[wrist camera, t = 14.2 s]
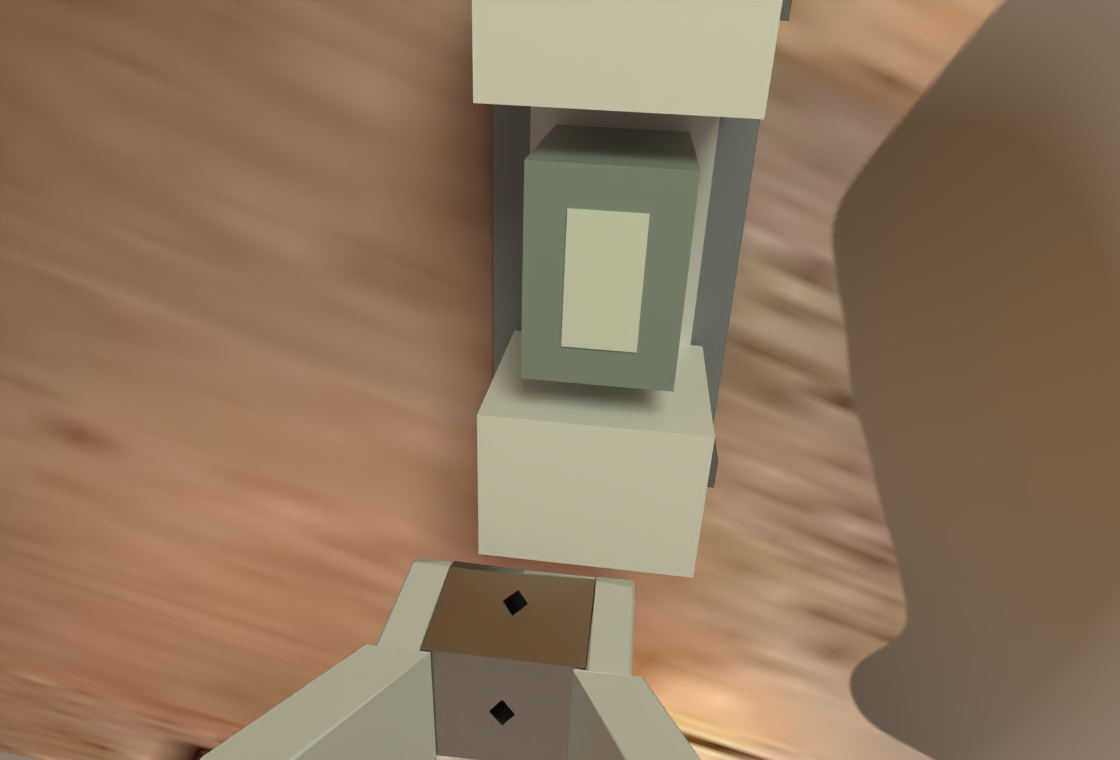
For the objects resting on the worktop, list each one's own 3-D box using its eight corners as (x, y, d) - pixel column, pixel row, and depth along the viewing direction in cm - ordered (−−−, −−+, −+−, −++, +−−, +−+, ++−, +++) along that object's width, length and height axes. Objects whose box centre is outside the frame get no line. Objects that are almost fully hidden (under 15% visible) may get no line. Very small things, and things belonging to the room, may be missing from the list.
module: (556, 124, 28) (523, 160, 21) (689, 132, 27) (700, 171, 21) (549, 299, 31) (520, 379, 24) (669, 308, 31) (673, 392, 24)
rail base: (498, -143, 26) (428, -212, 18) (794, -135, 25) (859, -203, 17) (497, 449, 36) (453, 572, 28) (703, 469, 35) (717, 601, 28)
